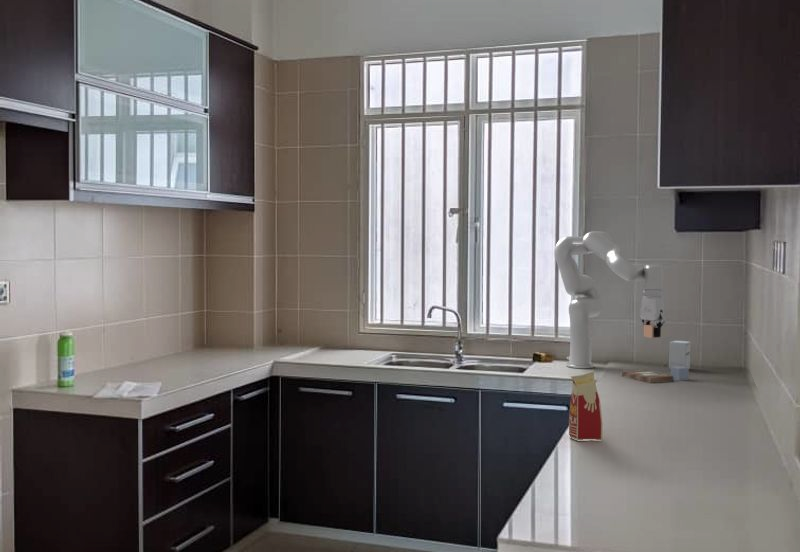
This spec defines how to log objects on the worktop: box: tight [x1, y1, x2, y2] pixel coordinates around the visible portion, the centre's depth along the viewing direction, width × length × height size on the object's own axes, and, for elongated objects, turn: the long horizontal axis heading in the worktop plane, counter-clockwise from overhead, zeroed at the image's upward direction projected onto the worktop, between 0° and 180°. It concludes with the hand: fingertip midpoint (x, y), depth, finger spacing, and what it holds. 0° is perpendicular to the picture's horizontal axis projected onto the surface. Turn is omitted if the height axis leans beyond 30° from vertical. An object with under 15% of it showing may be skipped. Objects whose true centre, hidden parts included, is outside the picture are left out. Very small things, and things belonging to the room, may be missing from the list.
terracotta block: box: [643, 324, 662, 339], centre depth 347 cm, size 5×5×5 cm
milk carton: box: [568, 370, 604, 441], centre depth 240 cm, size 9×9×20 cm
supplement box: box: [668, 340, 691, 370], centre depth 367 cm, size 7×7×13 cm
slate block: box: [670, 366, 690, 381], centre depth 342 cm, size 5×5×5 cm
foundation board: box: [621, 369, 674, 384], centre depth 343 cm, size 18×12×2 cm, turn 23°
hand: (652, 335), depth 347 cm, fingers closed on terracotta block, 5 cm apart
